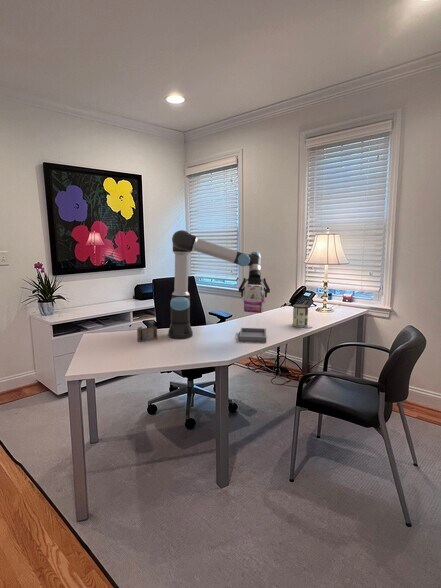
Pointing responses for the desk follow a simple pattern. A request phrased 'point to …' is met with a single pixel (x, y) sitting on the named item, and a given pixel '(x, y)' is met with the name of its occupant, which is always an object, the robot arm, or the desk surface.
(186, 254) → the robot arm
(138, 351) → the desk surface
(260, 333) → the tray
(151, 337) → the ruin model on sheet
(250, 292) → the candy bar box
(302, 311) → the coffee can
